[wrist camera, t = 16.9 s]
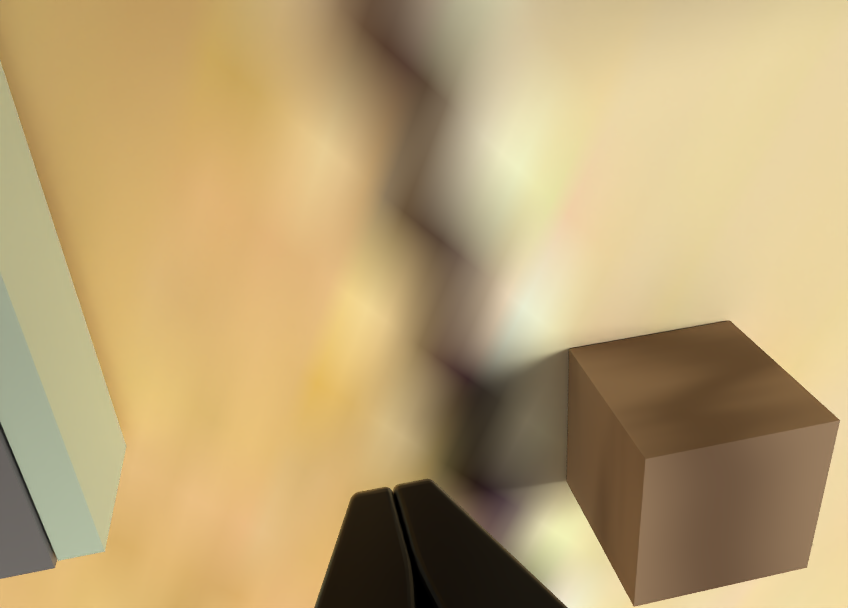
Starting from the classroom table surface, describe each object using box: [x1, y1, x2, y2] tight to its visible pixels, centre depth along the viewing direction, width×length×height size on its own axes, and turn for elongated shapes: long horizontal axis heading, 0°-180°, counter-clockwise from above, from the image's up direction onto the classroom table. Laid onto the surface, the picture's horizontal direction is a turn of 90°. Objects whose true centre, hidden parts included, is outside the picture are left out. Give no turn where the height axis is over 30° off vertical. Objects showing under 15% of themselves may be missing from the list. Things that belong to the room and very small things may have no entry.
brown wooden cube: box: [567, 321, 840, 606], centre depth 22 cm, size 5×5×5 cm
